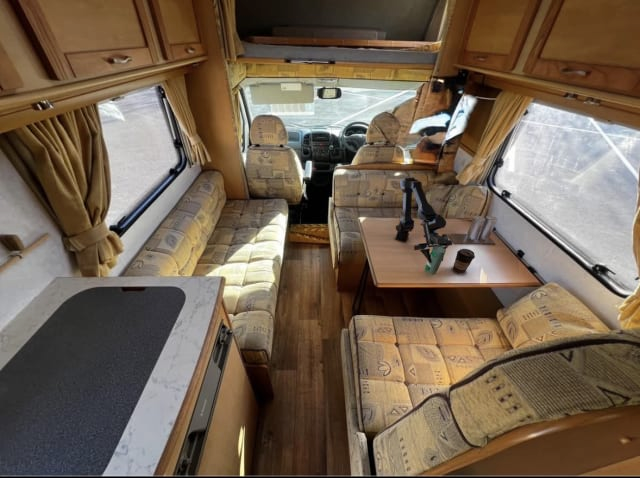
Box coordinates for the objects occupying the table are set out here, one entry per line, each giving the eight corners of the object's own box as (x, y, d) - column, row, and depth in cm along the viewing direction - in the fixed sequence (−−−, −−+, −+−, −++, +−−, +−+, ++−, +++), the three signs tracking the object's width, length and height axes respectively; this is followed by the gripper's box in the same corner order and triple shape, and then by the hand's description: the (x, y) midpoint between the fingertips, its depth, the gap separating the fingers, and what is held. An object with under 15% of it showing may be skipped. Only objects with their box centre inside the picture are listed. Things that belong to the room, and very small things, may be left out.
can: (426, 265, 142) (434, 243, 133) (437, 269, 139) (447, 248, 130) (423, 271, 138) (431, 249, 129) (434, 276, 135) (444, 254, 126)
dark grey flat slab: (454, 244, 162) (455, 242, 162) (448, 235, 171) (448, 233, 170) (494, 244, 162) (495, 243, 162) (486, 235, 170) (487, 234, 170)
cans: (468, 240, 163) (476, 220, 155) (463, 235, 168) (472, 215, 160) (489, 241, 163) (499, 220, 155) (484, 235, 168) (494, 215, 159)
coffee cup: (466, 278, 137) (474, 259, 130) (449, 272, 141) (456, 253, 133) (468, 269, 143) (476, 250, 136) (452, 263, 147) (459, 245, 139)
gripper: (422, 230, 126) (428, 262, 124) (456, 227, 129) (463, 258, 127) (410, 235, 137) (416, 264, 134) (442, 231, 140) (448, 260, 138)
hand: (436, 261), depth 133 cm, fingers closed on can, 6 cm apart
